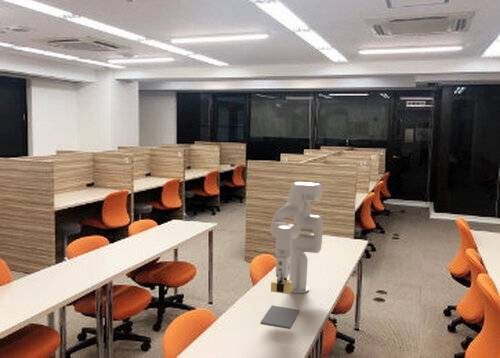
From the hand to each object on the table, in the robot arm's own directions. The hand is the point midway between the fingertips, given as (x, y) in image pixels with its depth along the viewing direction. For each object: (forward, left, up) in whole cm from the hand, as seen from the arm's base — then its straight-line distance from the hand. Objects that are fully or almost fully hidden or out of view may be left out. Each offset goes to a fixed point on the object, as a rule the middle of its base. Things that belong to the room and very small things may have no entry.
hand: (281, 288), depth 214 cm
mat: (0, 0, -14) cm, 14 cm away
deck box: (0, 0, -1) cm, 1 cm away
